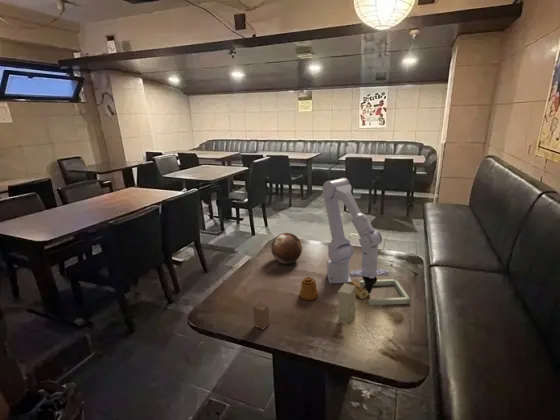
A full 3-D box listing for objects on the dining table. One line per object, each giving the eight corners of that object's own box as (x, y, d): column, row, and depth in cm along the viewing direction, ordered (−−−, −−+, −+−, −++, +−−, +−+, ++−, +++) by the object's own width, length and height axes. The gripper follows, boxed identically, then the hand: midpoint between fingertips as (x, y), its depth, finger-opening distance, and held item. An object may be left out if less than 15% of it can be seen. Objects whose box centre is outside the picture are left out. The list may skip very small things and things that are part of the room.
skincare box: (349, 325, 104) (350, 294, 100) (337, 321, 106) (337, 291, 103) (355, 315, 109) (356, 285, 106) (343, 311, 112) (344, 282, 108)
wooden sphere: (266, 264, 149) (264, 236, 145) (283, 252, 161) (282, 226, 156) (291, 272, 141) (290, 242, 137) (307, 259, 153) (307, 231, 148)
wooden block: (261, 320, 109) (260, 301, 107) (270, 324, 107) (268, 305, 104) (254, 326, 106) (252, 306, 104) (262, 330, 104) (261, 311, 101)
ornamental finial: (321, 298, 120) (303, 302, 118) (314, 289, 127) (297, 292, 125) (321, 281, 117) (302, 284, 116) (313, 272, 124) (296, 275, 122)
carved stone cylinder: (348, 289, 125) (348, 281, 124) (357, 286, 126) (357, 278, 125) (359, 300, 117) (359, 291, 116) (368, 297, 119) (368, 288, 117)
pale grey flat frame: (369, 305, 114) (369, 300, 114) (359, 284, 128) (359, 280, 127) (409, 303, 114) (410, 298, 113) (395, 283, 128) (396, 279, 127)
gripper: (353, 267, 113) (352, 298, 117) (392, 265, 113) (390, 297, 117) (349, 258, 120) (348, 288, 124) (385, 256, 119) (384, 287, 123)
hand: (368, 292), depth 121 cm, fingers closed
